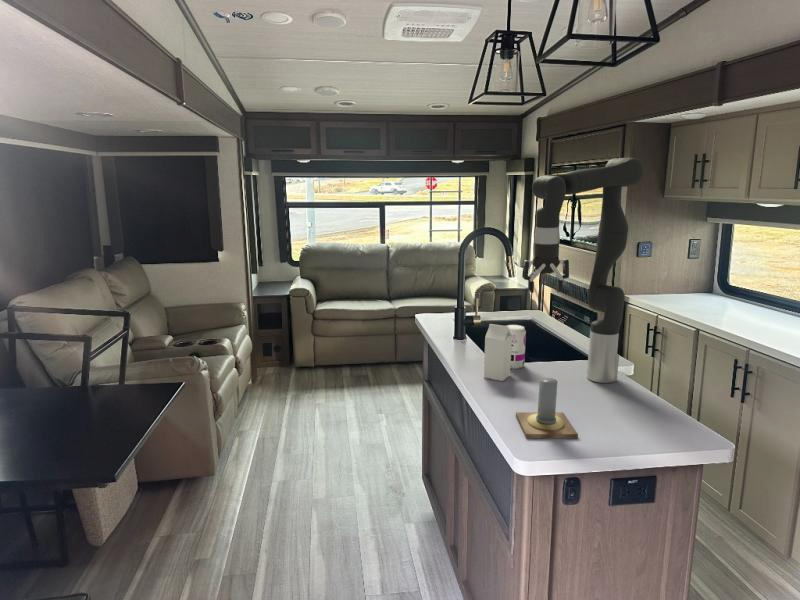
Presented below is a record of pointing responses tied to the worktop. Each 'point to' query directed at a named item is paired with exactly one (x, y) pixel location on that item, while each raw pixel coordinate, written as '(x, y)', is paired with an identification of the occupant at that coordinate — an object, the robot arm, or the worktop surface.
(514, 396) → the worktop surface
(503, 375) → the milk carton
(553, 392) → the grey rounded cylinder
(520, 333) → the supplement can
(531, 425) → the post base
